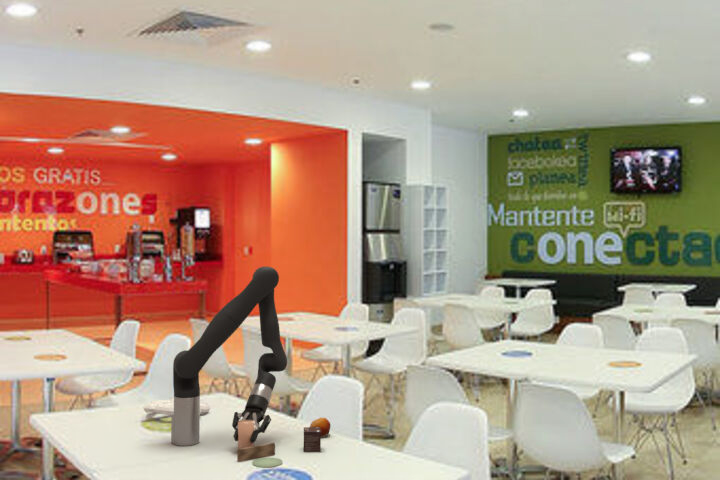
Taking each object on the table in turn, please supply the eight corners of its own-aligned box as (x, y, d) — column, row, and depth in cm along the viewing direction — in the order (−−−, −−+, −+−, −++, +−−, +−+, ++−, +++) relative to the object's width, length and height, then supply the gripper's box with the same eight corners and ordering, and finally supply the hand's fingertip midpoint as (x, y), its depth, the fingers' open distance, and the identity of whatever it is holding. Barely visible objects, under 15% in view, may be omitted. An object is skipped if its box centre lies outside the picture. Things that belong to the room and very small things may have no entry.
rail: (239, 461, 261) (239, 450, 261) (237, 461, 262) (237, 449, 262) (274, 454, 269) (275, 443, 269) (273, 454, 270) (273, 442, 270)
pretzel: (163, 410, 339) (164, 395, 340) (214, 414, 335) (216, 399, 336) (134, 416, 312) (136, 400, 313) (190, 422, 308) (192, 405, 309)
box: (303, 447, 279) (303, 427, 279) (320, 447, 280) (320, 426, 279) (303, 452, 273) (303, 431, 273) (320, 452, 273) (320, 431, 273)
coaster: (247, 465, 257) (247, 464, 257) (260, 457, 266) (260, 456, 266) (274, 469, 253) (274, 467, 253) (287, 460, 263) (287, 459, 263)
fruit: (332, 435, 289) (321, 416, 290) (314, 445, 291) (304, 426, 292) (337, 430, 297) (327, 412, 298) (320, 439, 299) (310, 421, 300)
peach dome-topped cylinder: (234, 454, 269) (235, 422, 269) (242, 450, 275) (242, 419, 275) (249, 456, 268) (249, 424, 267) (256, 451, 273) (257, 420, 273)
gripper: (237, 392, 280) (221, 433, 269) (274, 395, 276) (259, 437, 265) (244, 403, 285) (228, 444, 274) (280, 406, 281) (265, 448, 270)
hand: (243, 440), depth 269 cm, fingers closed on peach dome-topped cylinder, 5 cm apart
